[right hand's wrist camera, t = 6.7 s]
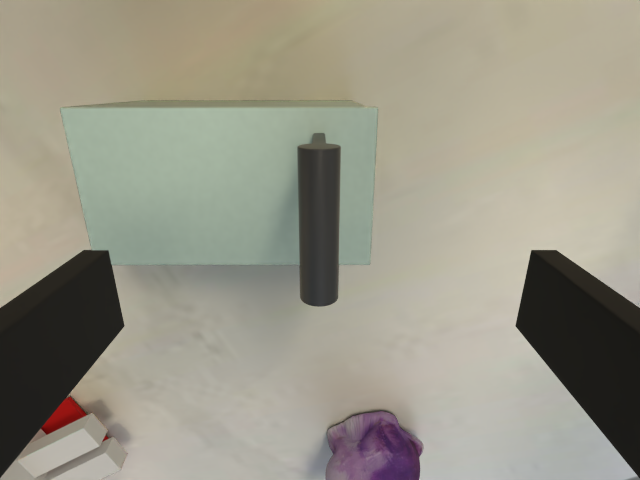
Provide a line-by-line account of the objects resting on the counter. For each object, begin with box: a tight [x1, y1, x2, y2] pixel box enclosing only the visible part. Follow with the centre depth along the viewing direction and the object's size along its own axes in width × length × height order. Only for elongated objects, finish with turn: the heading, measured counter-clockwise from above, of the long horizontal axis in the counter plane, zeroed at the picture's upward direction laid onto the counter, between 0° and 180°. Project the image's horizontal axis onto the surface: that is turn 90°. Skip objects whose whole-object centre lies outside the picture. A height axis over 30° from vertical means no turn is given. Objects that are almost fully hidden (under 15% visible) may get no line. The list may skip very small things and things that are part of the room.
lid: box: [60, 107, 378, 306], centre depth 21 cm, size 18×10×8 cm, turn 90°
